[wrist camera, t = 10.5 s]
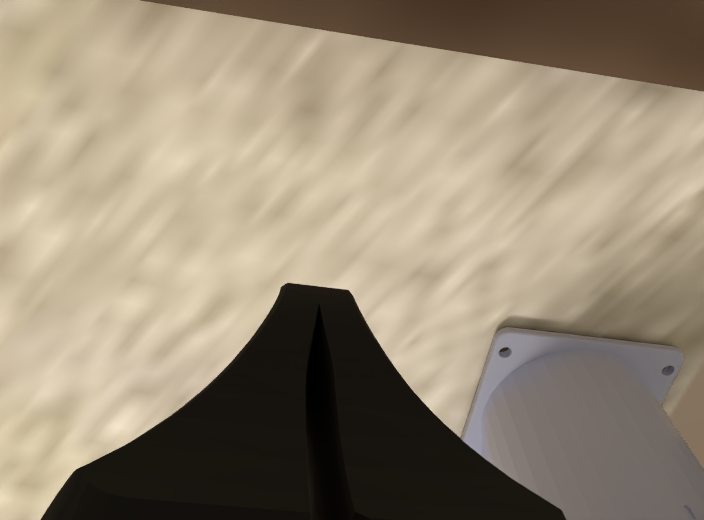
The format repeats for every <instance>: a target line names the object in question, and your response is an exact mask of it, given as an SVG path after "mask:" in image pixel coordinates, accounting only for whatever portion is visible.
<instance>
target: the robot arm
mask: <svg viewBox="0 0 704 520" xmlns="http://www.w3.org/2000/svg"><path fill="white" fill-rule="evenodd" d="M504 347H508V350H506V351H504V352H500V349H502V348H504ZM684 359H685V357H684V354H683V353H682V352H681V350H680V349H679V348H678V347H674V346H667V345H658V344H650V343H641V342H632V341H624V340H615V339H607V338H598V337H589V336H581V335H572V334H564V333H555V332H546V331H538V330H529V329H521V328H512V327H505V328H502V329H500V330H499V331H498V332H497V333H496V334H495V336H494V339H493V342H492V345H491V348H490V352H489V355H488V358H487V361H486V364H485V367H484V370H483V373H482V376H481V379H480V382H479V385H478V388H477V391H476V394H475V397H474V400H473V403H472V407H471V410H470V413H469V416H468V419H467V422H466V425H465V428H464V431H463V434H462V437H461V439H460V438H459V437H458V436H457V435H456V434H455V433H454V432H453V431H452V430H450V429H449V428H448V427H447V426H446V425H445V424H444V423H443V422H442V421H441V420H440V419H439V418H438V417H437V416H436V415H435V414H434V413H433V412H432V411H431V410H430V409H429V408H428V407H427V406H426V405H425V404H424V403H423V402H422V401H421V399H420V398H419V397H418V396H417V395H416V394H415V393H414V392H413V390H412V389H411V388H410V387H409V386H408V384H407V383H406V382H405V380H404V379H403V378H402V376H401V375H400V374H399V372H398V371H397V370H396V368H395V367H394V366H393V364H392V363H391V361H390V360H389V358H388V357H387V355H386V354H385V352H384V351H383V349H382V348H381V346H380V344H379V343H378V341H377V340H376V338H375V337H374V335H373V333H372V332H371V330H370V328H369V326H368V325H367V323H366V321H365V319H364V317H363V315H362V314H361V312H360V310H359V308H358V306H357V304H356V302H355V299H354V297H353V295H352V294H351V293H350V291H349V290H343V289H335V288H326V287H318V286H310V285H301V284H293V283H287V284H285V285H284V286H282V287H281V290H280V293H279V295H278V298H277V300H276V302H275V304H274V305H273V307H272V309H271V310H270V312H269V314H268V315H267V317H266V318H265V320H264V321H263V323H262V324H261V326H260V327H259V328H258V330H257V331H256V333H255V334H254V335H253V337H252V338H251V339H250V341H249V342H248V343H247V344H246V345H245V347H244V348H243V349H242V350H241V351H240V352H239V354H238V355H237V356H236V357H235V358H234V360H233V361H232V362H231V363H230V364H229V365H228V366H227V367H226V368H225V369H224V370H223V371H222V372H221V373H220V374H219V375H218V376H217V377H216V378H215V379H214V380H213V381H212V382H211V383H210V384H209V385H208V386H207V387H206V388H204V389H203V390H202V391H201V392H200V393H199V394H197V395H196V396H195V397H194V398H193V399H191V400H190V401H189V402H188V403H186V404H185V405H184V406H183V407H182V408H180V409H179V410H178V411H176V412H175V413H174V414H172V415H171V416H170V417H168V418H167V419H165V420H164V421H162V422H161V423H159V424H158V425H156V426H155V427H153V428H152V429H150V430H148V431H147V432H145V433H144V434H142V435H141V436H139V437H138V438H136V439H135V440H133V441H131V442H130V443H128V444H126V445H125V446H123V447H121V448H119V449H117V450H115V451H113V452H111V453H109V454H107V455H105V456H103V457H101V458H99V459H97V460H95V461H93V462H91V463H89V464H87V465H85V466H83V467H80V468H78V469H76V470H75V471H74V472H73V473H72V475H71V476H70V477H69V479H68V480H67V481H66V483H65V484H64V485H63V487H62V488H61V490H60V491H59V492H58V494H57V495H56V497H55V498H54V500H53V501H52V503H51V504H50V506H49V507H48V509H47V510H46V512H45V514H44V515H43V517H42V518H41V520H704V469H703V467H702V466H701V464H700V463H699V461H698V460H697V458H696V457H695V455H694V454H693V452H692V451H691V449H690V448H689V446H688V445H687V443H686V442H685V440H684V439H683V437H682V436H681V434H680V433H679V431H678V430H677V428H676V427H675V425H674V424H673V422H672V421H671V419H670V418H669V416H668V415H667V413H666V412H665V410H664V409H663V407H662V406H661V405H662V403H663V401H664V399H665V397H666V395H667V393H668V391H669V389H670V387H671V385H672V383H673V381H674V380H675V378H676V376H677V374H678V372H679V370H680V368H681V366H682V364H683V362H684ZM666 366H669V367H668V368H666V369H663V368H664V367H666ZM662 369H663V370H662Z"/></svg>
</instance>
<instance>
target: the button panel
mask: <svg viewBox="0 0 704 520" xmlns="http://www.w3.org/2000/svg"><path fill="white" fill-rule="evenodd" d="M142 1H148V2H154V3H160V4H166V5H172V6H179V7H185V8H191V9H197V10H203V11H210V12H216V13H222V14H228V15H234V16H240V17H247V18H253V19H259V20H265V21H271V22H278V23H284V24H290V25H296V26H302V27H308V28H315V29H321V30H327V31H333V32H339V33H346V34H352V35H358V36H364V37H370V38H376V39H383V40H389V41H395V42H401V43H407V44H414V45H420V46H426V47H432V48H438V49H444V50H451V51H457V52H463V53H469V54H475V55H482V56H488V57H494V58H500V59H506V60H512V61H519V62H525V63H531V64H537V65H543V66H550V67H556V68H562V69H568V70H574V71H580V72H587V73H593V74H599V75H605V76H611V77H618V78H624V79H630V80H636V81H642V82H648V83H655V84H661V85H667V86H673V87H679V88H686V89H692V90H698V91H704V0H142Z"/></svg>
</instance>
